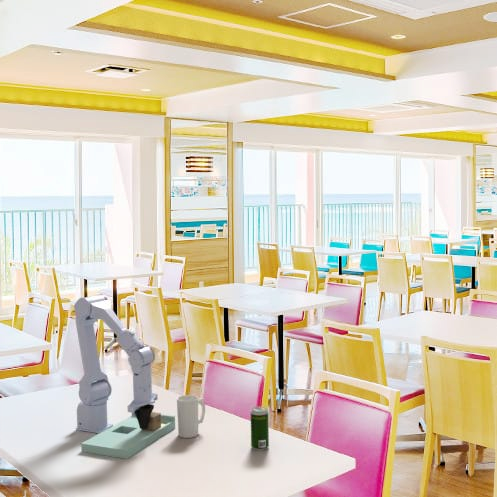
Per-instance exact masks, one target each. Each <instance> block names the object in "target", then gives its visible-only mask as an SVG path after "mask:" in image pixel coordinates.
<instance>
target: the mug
mask: <svg viewBox="0 0 497 497" xmlns="http://www.w3.org/2000/svg"><path fill="white" fill-rule="evenodd" d="M199 405H200V406H201V414H200V416H199ZM176 408H177V410H176V411H177V412H176V413H177V430H178V436H179V437H180V438H183V439H191V438H195V437H198V436H199V424H202V423H203V422H204V419H205V415H206V405H205V402H204V398H203V397H199V396H197V395H194V394H193V395H192V394H185V395H180V396H177V398H176Z"/></svg>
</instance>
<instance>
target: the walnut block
mask: <svg viewBox="0 0 497 497" xmlns="http://www.w3.org/2000/svg"><path fill="white" fill-rule="evenodd" d="M161 414H162V413H161V412H153V411H152V413H151V415H150V419H149V423H148V428H147V429H141V430H148V431H155V430H157V429H159V428H160V427H161Z"/></svg>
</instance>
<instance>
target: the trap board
mask: <svg viewBox="0 0 497 497" xmlns="http://www.w3.org/2000/svg"><path fill="white" fill-rule="evenodd" d="M174 429H176V415H172V414H164V413H163V414H162V413H161V427H160V428H159V429H157V430H155V431H148V430H141V429H140V427H139V423H138V420H137V417H136V415H135V413H132V412H131V416H128V417H127V418H125V419H123V420H121V421H120V422H118V423H116V424H114V425H113V426H112V427H110V428H108V429H106V430H105V431H103V432H101V433H97V434H95V435H94V436H93V437H90V438H89V439H87V440H85V441H83V442H81V443H80V444H81V446H80V447H81V453H82V452H83V453H87V454H94V455H101V456H108V457H114V458H120V459H126V460H127V459H129V458H131V457H132V456H133V455H136V454H137V453H138V452H140V451H141V450H143V449H144V448H146V447H148V446H149V445H150V444H152V443H154V442H155V441H156V440H158V439H159V438H162V437H163V436H164V435H167V434H168V433H170V432H171V431H173V430H174Z"/></svg>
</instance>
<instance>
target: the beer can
mask: <svg viewBox="0 0 497 497" xmlns="http://www.w3.org/2000/svg"><path fill="white" fill-rule="evenodd" d="M269 427H270V426H269V410H268V408H267V407H265V406H254V407H251V410H250V446H251V449H252V450H253V451H257V452H263V451H266V450H268V448H269V446H270V440H269V437H270V436H269V432H270V431H269Z"/></svg>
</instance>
